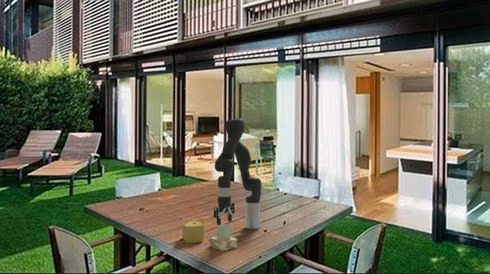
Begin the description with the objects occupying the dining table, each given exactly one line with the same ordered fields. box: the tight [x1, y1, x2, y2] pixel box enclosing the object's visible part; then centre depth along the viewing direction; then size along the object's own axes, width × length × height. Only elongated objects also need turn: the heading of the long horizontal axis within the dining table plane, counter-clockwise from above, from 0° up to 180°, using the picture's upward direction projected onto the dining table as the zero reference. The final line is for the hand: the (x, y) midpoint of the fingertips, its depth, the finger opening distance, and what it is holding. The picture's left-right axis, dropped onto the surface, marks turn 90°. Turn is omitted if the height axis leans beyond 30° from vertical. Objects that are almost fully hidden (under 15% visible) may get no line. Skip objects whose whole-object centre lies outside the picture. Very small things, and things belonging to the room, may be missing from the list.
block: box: [216, 224, 232, 241], centre depth 218 cm, size 6×6×7 cm
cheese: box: [182, 220, 205, 244], centre depth 229 cm, size 10×11×10 cm
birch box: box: [209, 235, 238, 252], centre depth 219 cm, size 11×11×5 cm
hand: (224, 223), depth 218 cm, fingers open, 8 cm apart
